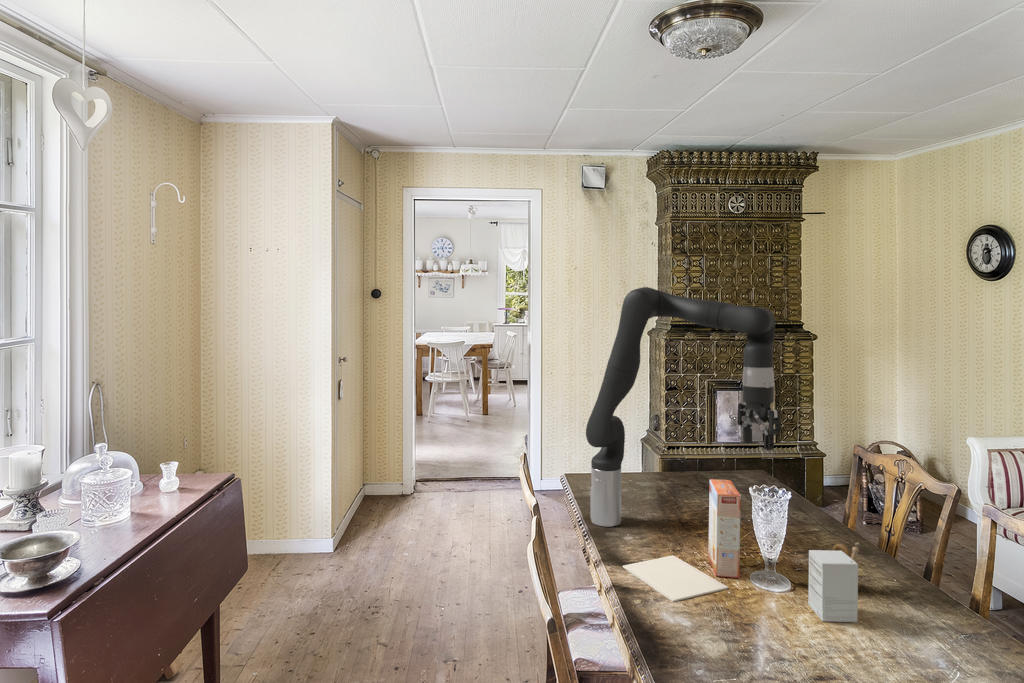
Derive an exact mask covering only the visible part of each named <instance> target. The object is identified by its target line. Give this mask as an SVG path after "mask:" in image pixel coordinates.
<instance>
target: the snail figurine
mask: <svg viewBox="0 0 1024 683" xmlns="http://www.w3.org/2000/svg"><path fill="white" fill-rule="evenodd" d="M859 545H860V542H855V546H853V547H852V548H851V550H850V549H849V547H847V545H845V544H843V543H840V542H839V543H835V544H834V545H833V547H832V551H843V552H844V553H845V554H846V555H848V556H849V557H850V558H851V559H852V560H854V561H855V562H856V563H857V558H858V553H859V551H860V550H859ZM851 551H852V552H851Z"/></svg>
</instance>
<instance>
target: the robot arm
mask: <svg viewBox="0 0 1024 683" xmlns="http://www.w3.org/2000/svg"><path fill="white" fill-rule="evenodd" d="M654 317H657V318H658V317H664V318H666V317H668V318H676V319H679V320H684V321H687V322H689V323H691V324H692V323H693V324H696V325H699V326H704V327H709V328H717V329H721V330H723V329H724V330H731V331H734V332H740V333H743V334H746V345H744V346H745V347H744V348H743V370H742V401H743V402H740V403H739V402H738V404H737V420H736V421H737V425H738V426H740V427H741V429H742V439H743V440H742V442H743V443H744V444H751V443H752V442H753V429H752V427H754V424H757V425H758V426H759V428H761V429H762V431H763V433H764V435H763V449H764V450H765V451H773V450H774V446H775V436H776V435H781V432H782V431H781V411H780V410H779V409H772V408H771V405H772V404H773V403H774V402H775V372H774V353H773V351H774V349H773V346H774V338H775V331H776V318H775V316H774V313H773V312H772V311H771V310H770V309H769V308H767V307H759V306H758V307H757V306H748V305H738V304H737V305H736V304H732V303H729V302H723V301H717V300H710V299H709V300H707V299H699V298H691V297H685V296H680V295H676V294H671V293H668V292H664V291H661V290H657V289H656V288H652V287H648V286H643V287H639V288H635V289H633V290H630V291H629V292H628V293H627V294H626V296H625V297H624V299H623V302H622V308H621V311H620V316H619V323H618V329H617V332H616V336H615V339H614V342H613V345H612V349H611V351H610V356H609V357H608V361H607V364H606V368H605V371H604V375H603V380H602V383H601V386H600V389H599V392H598V396H597V399H596V401H595V403H594V407H593V408H592V411H591V414H590V416H589V418H588V421H587V423H586V427H585V437H586V438H585V439H586V441H587V442H588V444H589V445H590V446H591V447H593V448H600V449H599V451H598V452H597V453H596V454H595V455H594V456H592V458H591V462H590V463H591V465H590V466H591V468H590V469H591V470H590V472H591V475H590V476H591V477H590V478H591V479H590V480H591V488H590V490H589V493H590V494H589V497H590V500H589V502H590V503H589V507H590V509H589V510H590V511H589V512H590V513H589V514H590V516H589V517H590V518H589V519H590V520H591V522H592V524H593V525H596V526H598V527H599V526H600V527H608V528H609V527H614V526H619V525H621V523H622V462H623V461H624V458H625V457H624V456H625V440H626V436H625V434H626V433H625V425H624V422H623V421H622V419H621V418H620V417H618V416H616V415H614V413H615V411H616V410H617V407H618V406H619V405H620V404H621V402H622V401H623V400H624V398H625V397H627V396H628V394H629V393H630V391H631V390H632V389H633V387H634V386H635V382H636V379H637V375H638V374H639V373H638V372H639V370H640V366H641V341H642V337H643V334H644V332H645V330H646V329H645V328H646V325H647V324H648V321H649V319H653V318H654ZM742 417H743V419H742ZM774 426H775V428H774Z"/></svg>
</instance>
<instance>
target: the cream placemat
mask: <svg viewBox="0 0 1024 683" xmlns="http://www.w3.org/2000/svg"><path fill="white" fill-rule="evenodd" d="M622 568H624V570H626V571H627V572H628V573H630V574H632V575H633V576H635V577H636V578H637V579H639V580H641V581H642V582H643V583H645V584H646V585H648V586H649V587H651V588H652V589H653V590H655V591H656V592H658V593H659V594H661V595H662V596H664V597H665V598H667V599H668V600H669V601H671V602H673V603H675V602H678V601H682V600H686V599H687V600H688V599H690V598H695V597H698V596H703V595H707V594H711V593H715V592H716V593H717V592H719V591H724V590H729V586H727V585H725V584H724V583H722V582H720V581H719V580H716V579H715V578H713V577H712V576H710V575H708V574H706V573H705V572H703V571H701V570H700V569H697V568H696V567H694V566H692V565H691V564H689V563H687V562H685V561H684V560H682V559H680V558H678V557H677V556H675V555H669V556H663V557H659V558H654V559H653V558H652V559H649V560H644V561H639V562H634V563H633V562H632V563H629V564H625V565H622Z"/></svg>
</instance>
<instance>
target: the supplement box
mask: <svg viewBox="0 0 1024 683" xmlns="http://www.w3.org/2000/svg"><path fill="white" fill-rule="evenodd" d="M858 592H859V564H858V563H857V561H856V562H855V561H854V560H852V559H851V558H850V557H849V556H848V555H846V554H845V553H844V552H843V551H833V550H826V549H825V550H818V549H809V550H808V595H807V596H808V598H807V599H808V601H807V603H808V606H809V607H810V608H811V609H812V611H813V612H814V613H815V615H816V616H817V617H818V618H819V619H820V620H821V622H839V623H858V618H859V616H858V607H859V606H858V605H859V604H858V602H859V601H858V599H859V598H858V596H859V593H858Z"/></svg>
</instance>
